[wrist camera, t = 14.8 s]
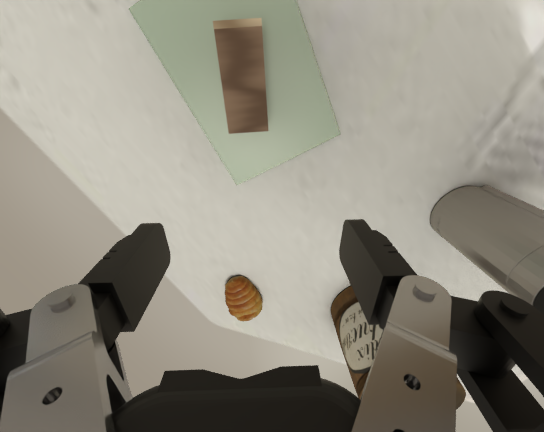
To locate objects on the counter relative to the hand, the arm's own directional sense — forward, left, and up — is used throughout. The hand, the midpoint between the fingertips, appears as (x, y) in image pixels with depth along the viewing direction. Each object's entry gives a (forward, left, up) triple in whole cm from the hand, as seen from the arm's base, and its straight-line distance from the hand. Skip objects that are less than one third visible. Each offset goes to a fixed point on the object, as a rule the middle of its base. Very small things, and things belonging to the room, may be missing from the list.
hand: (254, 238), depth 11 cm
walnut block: (0, -2, -21) cm, 21 cm away
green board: (-2, -6, -25) cm, 25 cm away
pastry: (+17, +25, -25) cm, 40 cm away
